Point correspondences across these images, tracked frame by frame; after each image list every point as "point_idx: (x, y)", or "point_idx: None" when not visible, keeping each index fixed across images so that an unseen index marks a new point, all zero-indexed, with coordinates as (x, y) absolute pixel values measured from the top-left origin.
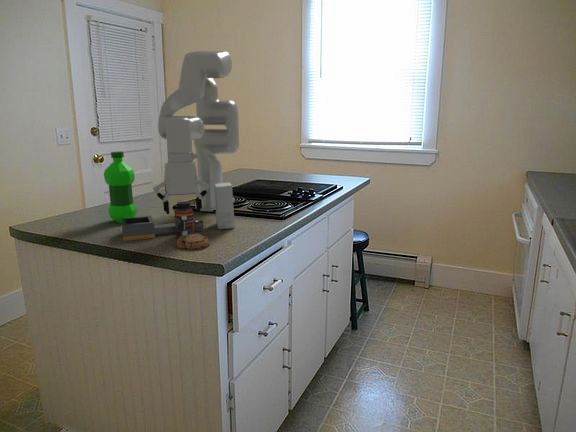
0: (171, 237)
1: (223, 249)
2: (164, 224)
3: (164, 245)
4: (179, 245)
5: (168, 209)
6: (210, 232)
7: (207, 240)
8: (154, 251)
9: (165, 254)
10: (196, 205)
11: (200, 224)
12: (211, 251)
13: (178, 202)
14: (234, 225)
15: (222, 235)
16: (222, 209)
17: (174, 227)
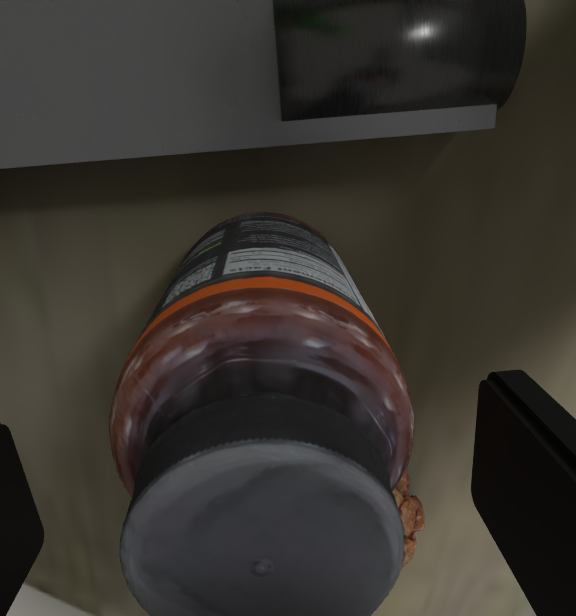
0: (143, 280)
1: (468, 597)
2: (8, 15)
3: (105, 462)
4: None
5: (2, 601)
6: (506, 219)
7: (406, 563)
8: (54, 552)
9: (131, 606)
10: (518, 448)
11: (461, 130)
12: (395, 611)
13: (152, 543)
14: None
15: (569, 337)
16: None
17: (154, 155)
